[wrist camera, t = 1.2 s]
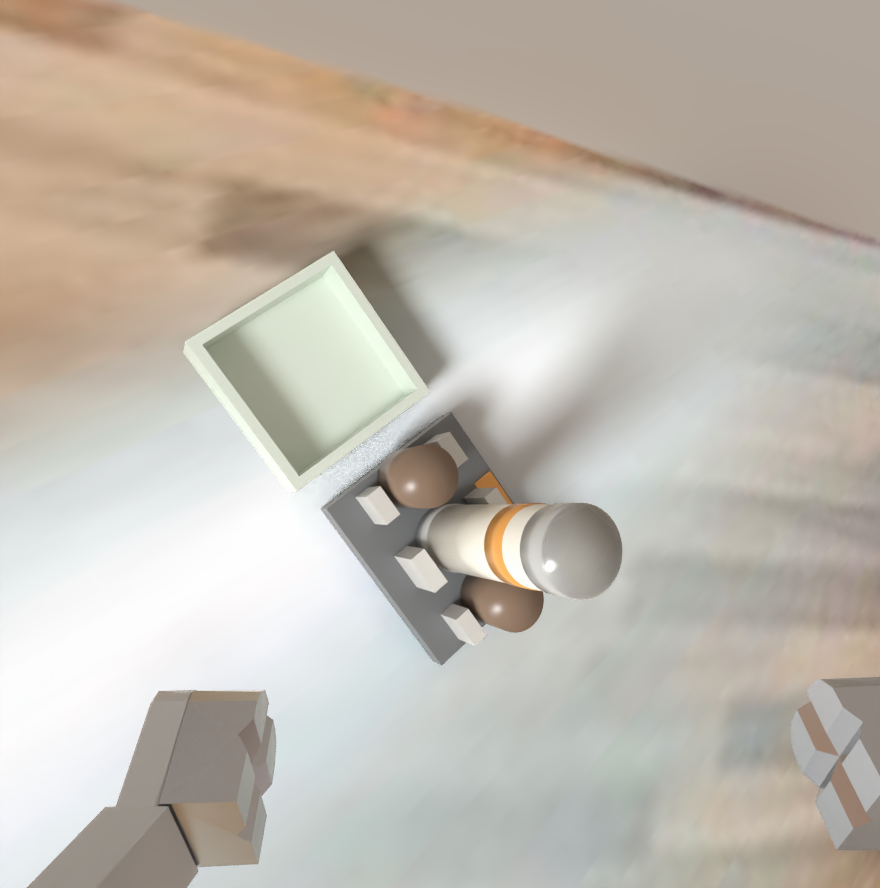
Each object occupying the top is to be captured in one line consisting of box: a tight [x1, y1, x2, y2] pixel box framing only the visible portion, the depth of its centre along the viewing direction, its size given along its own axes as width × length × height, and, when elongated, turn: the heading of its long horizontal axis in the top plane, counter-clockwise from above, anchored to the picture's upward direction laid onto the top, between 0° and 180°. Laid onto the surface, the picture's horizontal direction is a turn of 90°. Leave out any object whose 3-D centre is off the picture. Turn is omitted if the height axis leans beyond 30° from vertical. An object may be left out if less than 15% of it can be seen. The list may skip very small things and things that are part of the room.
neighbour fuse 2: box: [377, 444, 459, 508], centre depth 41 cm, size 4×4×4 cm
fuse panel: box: [321, 413, 513, 665], centre depth 43 cm, size 12×10×4 cm
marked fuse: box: [416, 503, 622, 600], centre depth 37 cm, size 4×4×15 cm
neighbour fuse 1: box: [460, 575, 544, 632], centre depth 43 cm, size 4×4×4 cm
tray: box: [183, 251, 430, 492], centre depth 41 cm, size 10×10×3 cm
